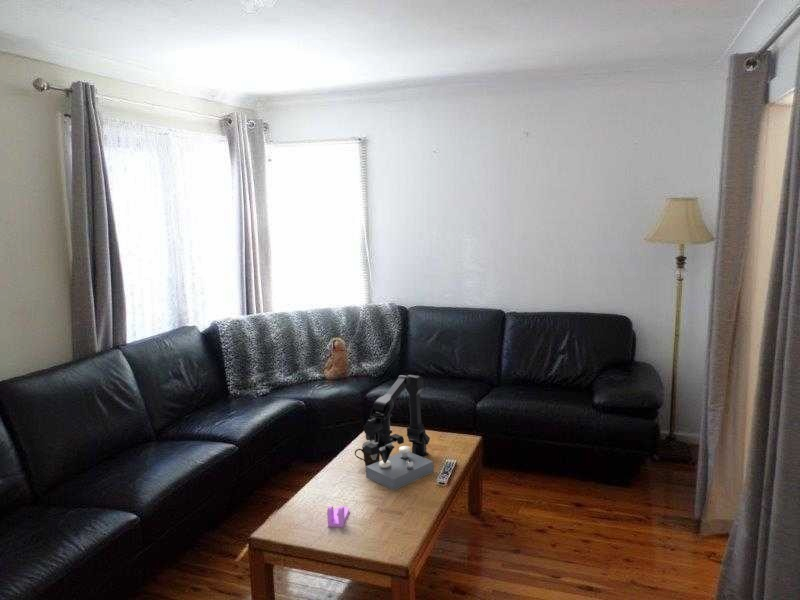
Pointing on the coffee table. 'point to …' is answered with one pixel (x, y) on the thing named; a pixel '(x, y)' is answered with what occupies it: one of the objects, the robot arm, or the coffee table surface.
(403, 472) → the console block
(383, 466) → the knob
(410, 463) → the potentiometer
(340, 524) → the bracket
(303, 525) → the coffee table surface
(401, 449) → the knob
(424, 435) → the robot arm
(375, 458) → the coffee mug
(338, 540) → the coffee table surface
